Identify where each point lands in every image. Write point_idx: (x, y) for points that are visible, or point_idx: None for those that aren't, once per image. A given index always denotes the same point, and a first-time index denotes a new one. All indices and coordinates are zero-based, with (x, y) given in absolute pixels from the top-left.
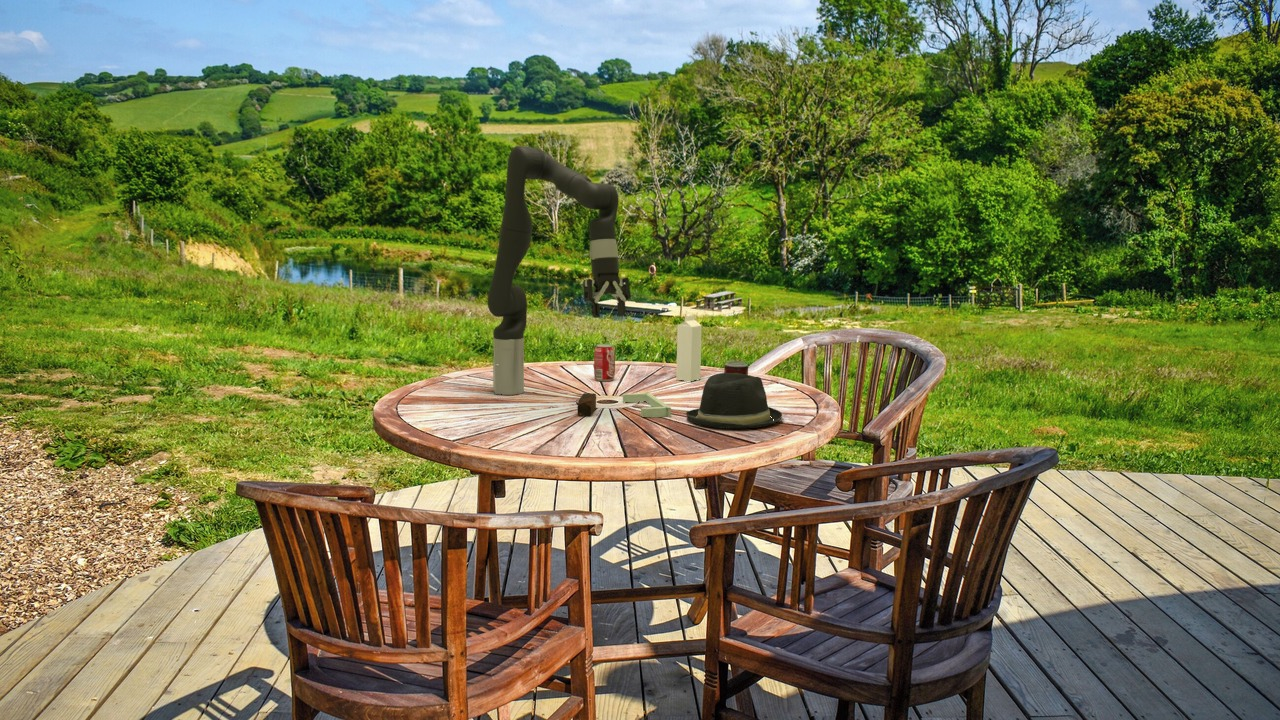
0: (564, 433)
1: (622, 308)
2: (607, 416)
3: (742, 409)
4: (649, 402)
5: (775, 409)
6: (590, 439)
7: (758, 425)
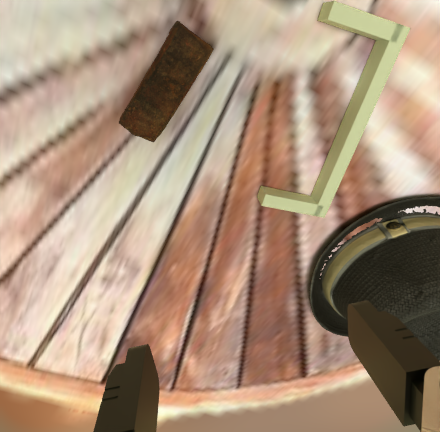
0: (43, 247)
1: (374, 379)
2: (193, 150)
3: None
4: (363, 79)
5: None
6: (82, 297)
7: None
